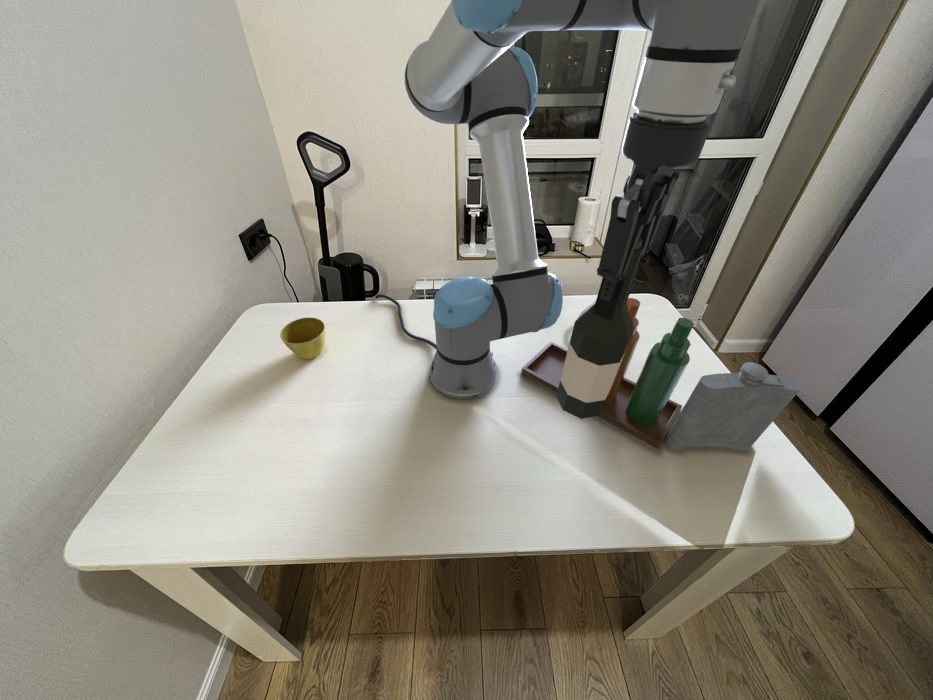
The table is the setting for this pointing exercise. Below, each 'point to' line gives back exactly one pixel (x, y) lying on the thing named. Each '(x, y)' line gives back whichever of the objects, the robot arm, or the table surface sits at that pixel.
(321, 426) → the table surface
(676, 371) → the green bottle
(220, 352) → the table surface
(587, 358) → the wine bottle
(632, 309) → the amber bottle
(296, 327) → the flower pot
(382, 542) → the table surface
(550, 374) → the tray
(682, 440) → the hip flask
